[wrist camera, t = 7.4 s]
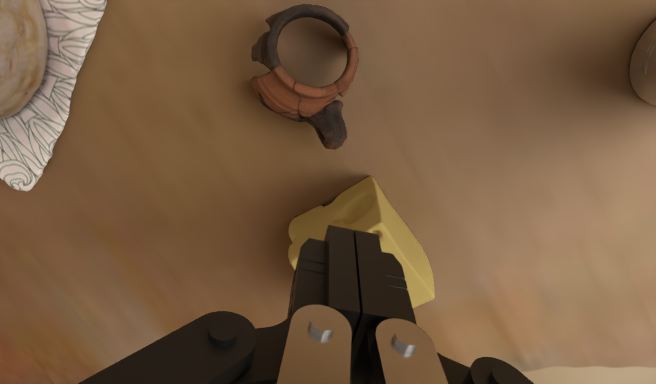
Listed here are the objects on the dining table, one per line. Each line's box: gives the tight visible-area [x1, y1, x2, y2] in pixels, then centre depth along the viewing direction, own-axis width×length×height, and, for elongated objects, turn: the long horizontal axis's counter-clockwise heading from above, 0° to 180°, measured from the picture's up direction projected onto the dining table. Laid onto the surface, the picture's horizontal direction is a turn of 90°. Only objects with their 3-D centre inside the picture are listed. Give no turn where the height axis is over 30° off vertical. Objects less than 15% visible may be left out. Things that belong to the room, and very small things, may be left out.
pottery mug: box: [251, 4, 358, 150], centre depth 37 cm, size 12×10×8 cm
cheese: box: [288, 176, 434, 308], centre depth 42 cm, size 10×11×10 cm
